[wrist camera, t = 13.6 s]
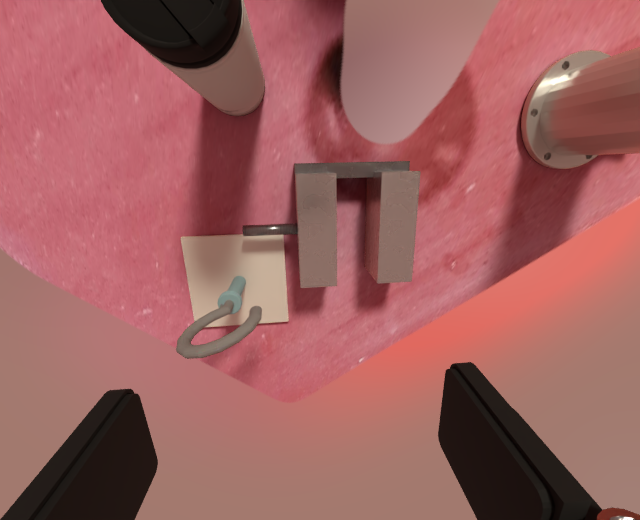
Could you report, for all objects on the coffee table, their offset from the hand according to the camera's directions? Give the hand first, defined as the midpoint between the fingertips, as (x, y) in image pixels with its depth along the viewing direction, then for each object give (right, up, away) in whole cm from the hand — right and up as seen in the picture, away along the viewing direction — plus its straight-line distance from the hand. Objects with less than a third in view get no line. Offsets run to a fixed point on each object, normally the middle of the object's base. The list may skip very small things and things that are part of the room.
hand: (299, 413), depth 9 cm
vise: (+1, +10, +28) cm, 29 cm away
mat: (-10, +2, +29) cm, 30 cm away
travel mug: (-8, +23, +22) cm, 33 cm away
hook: (-9, +2, +28) cm, 30 cm away
